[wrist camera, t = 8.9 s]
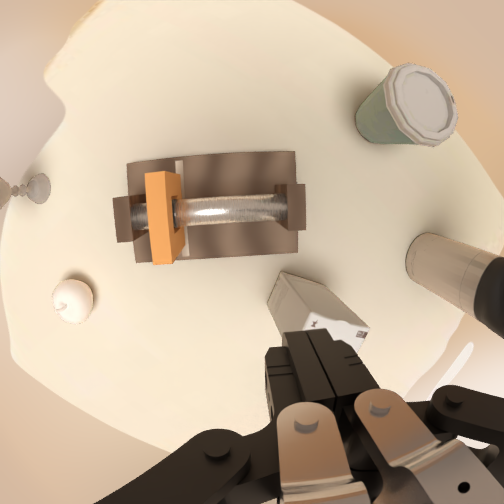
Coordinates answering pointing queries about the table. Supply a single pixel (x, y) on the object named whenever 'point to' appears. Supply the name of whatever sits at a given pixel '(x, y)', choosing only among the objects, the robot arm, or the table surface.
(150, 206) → the square ring
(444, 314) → the table surface
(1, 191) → the chalice
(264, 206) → the pipe
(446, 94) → the disposable coffee cup
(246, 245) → the pipe stand
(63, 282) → the plain white apple
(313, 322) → the skincare box
